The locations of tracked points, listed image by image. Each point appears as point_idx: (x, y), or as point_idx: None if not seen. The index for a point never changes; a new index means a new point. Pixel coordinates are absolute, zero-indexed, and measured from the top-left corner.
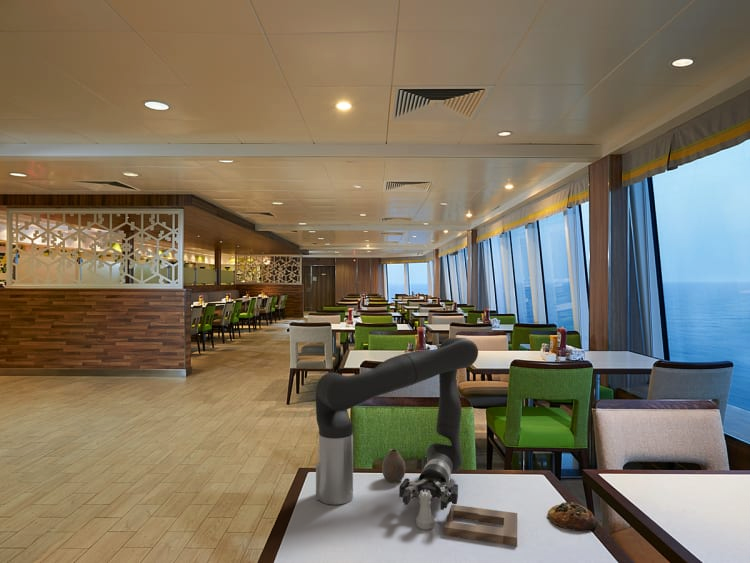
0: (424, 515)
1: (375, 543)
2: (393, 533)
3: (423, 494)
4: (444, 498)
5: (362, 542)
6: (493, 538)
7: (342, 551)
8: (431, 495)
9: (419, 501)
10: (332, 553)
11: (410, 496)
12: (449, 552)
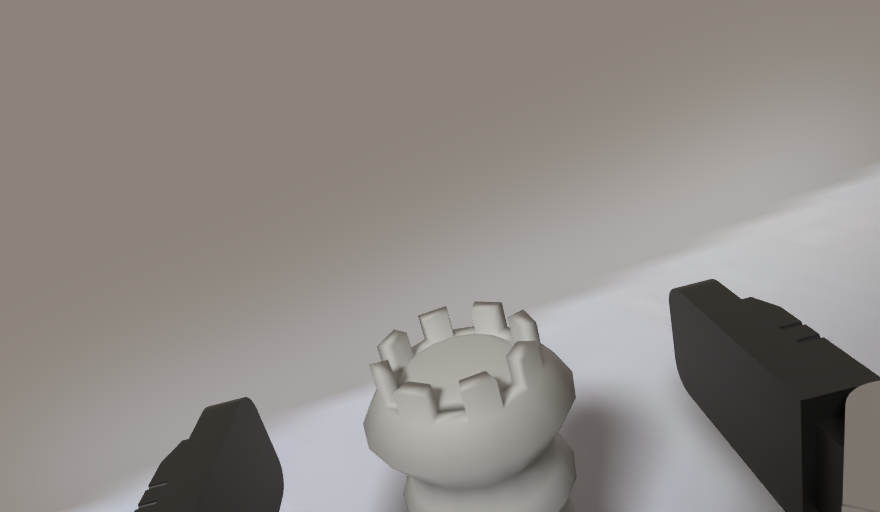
0: None
1: None
2: (715, 429)
3: (467, 334)
4: (176, 485)
5: (782, 295)
6: None
7: (781, 235)
8: (371, 430)
9: (566, 445)
10: (800, 216)
11: (794, 480)
12: (284, 447)
